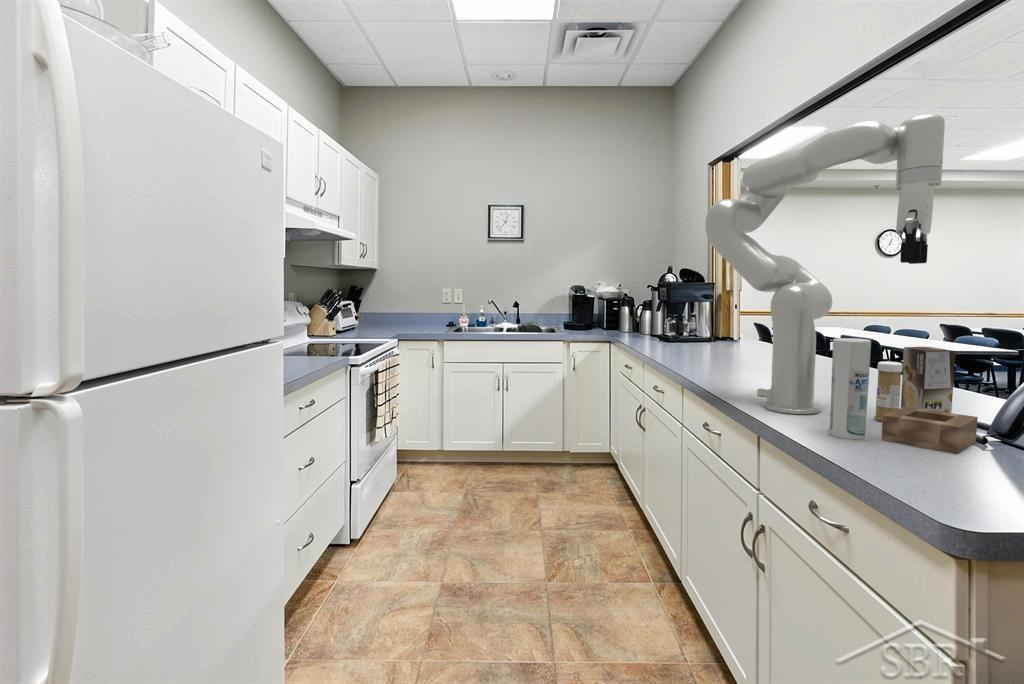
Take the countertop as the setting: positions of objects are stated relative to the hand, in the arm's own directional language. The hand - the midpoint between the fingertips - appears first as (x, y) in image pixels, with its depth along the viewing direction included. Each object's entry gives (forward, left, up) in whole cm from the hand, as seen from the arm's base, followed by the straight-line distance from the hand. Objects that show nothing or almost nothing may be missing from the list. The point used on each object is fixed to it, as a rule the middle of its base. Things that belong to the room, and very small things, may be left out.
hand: (913, 262), depth 110 cm
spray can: (-5, -15, -36) cm, 39 cm away
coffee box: (-1, +16, -36) cm, 39 cm away
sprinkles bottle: (-5, +4, -36) cm, 36 cm away
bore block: (+6, -8, -36) cm, 37 cm away
